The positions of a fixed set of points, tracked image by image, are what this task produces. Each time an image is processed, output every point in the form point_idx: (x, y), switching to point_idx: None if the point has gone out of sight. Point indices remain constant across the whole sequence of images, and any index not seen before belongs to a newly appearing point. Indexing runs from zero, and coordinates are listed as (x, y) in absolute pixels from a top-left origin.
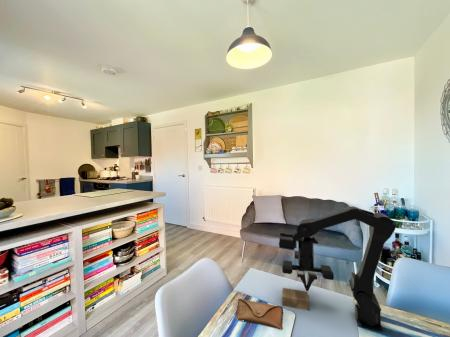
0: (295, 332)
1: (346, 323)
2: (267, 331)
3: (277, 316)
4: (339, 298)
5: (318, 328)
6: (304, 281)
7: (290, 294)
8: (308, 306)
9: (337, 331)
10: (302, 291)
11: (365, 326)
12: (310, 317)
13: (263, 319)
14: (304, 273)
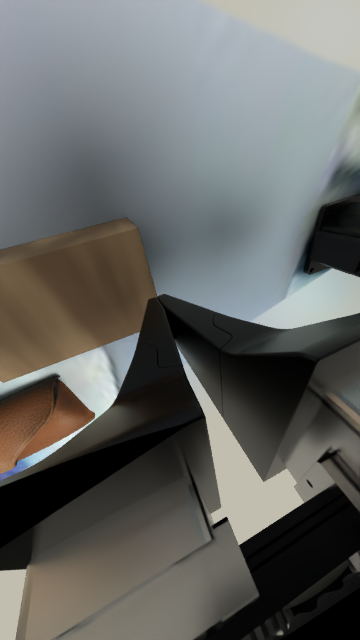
0: None
1: (268, 282)
2: (60, 443)
3: (62, 428)
4: (311, 69)
5: None
6: (182, 427)
7: (37, 335)
8: None
9: None
10: (101, 248)
11: (315, 272)
12: None
13: (25, 457)
14: (216, 488)
